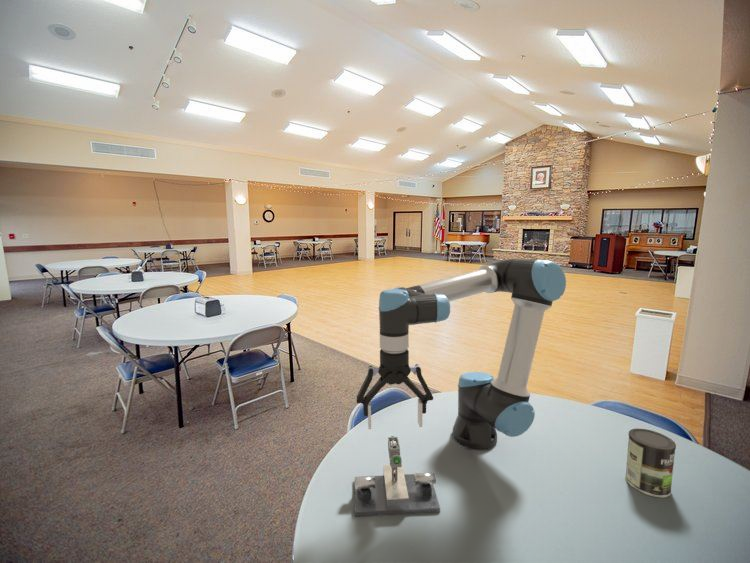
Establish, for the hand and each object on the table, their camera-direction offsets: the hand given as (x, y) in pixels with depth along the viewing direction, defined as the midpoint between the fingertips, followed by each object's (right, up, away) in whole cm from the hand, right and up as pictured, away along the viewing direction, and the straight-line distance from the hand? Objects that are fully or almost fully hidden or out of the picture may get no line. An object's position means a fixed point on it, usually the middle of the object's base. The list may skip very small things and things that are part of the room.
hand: (394, 425), depth 91 cm
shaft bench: (0, -20, +2) cm, 21 cm away
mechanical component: (0, -16, +2) cm, 16 cm away
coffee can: (+72, -19, +5) cm, 75 cm away
